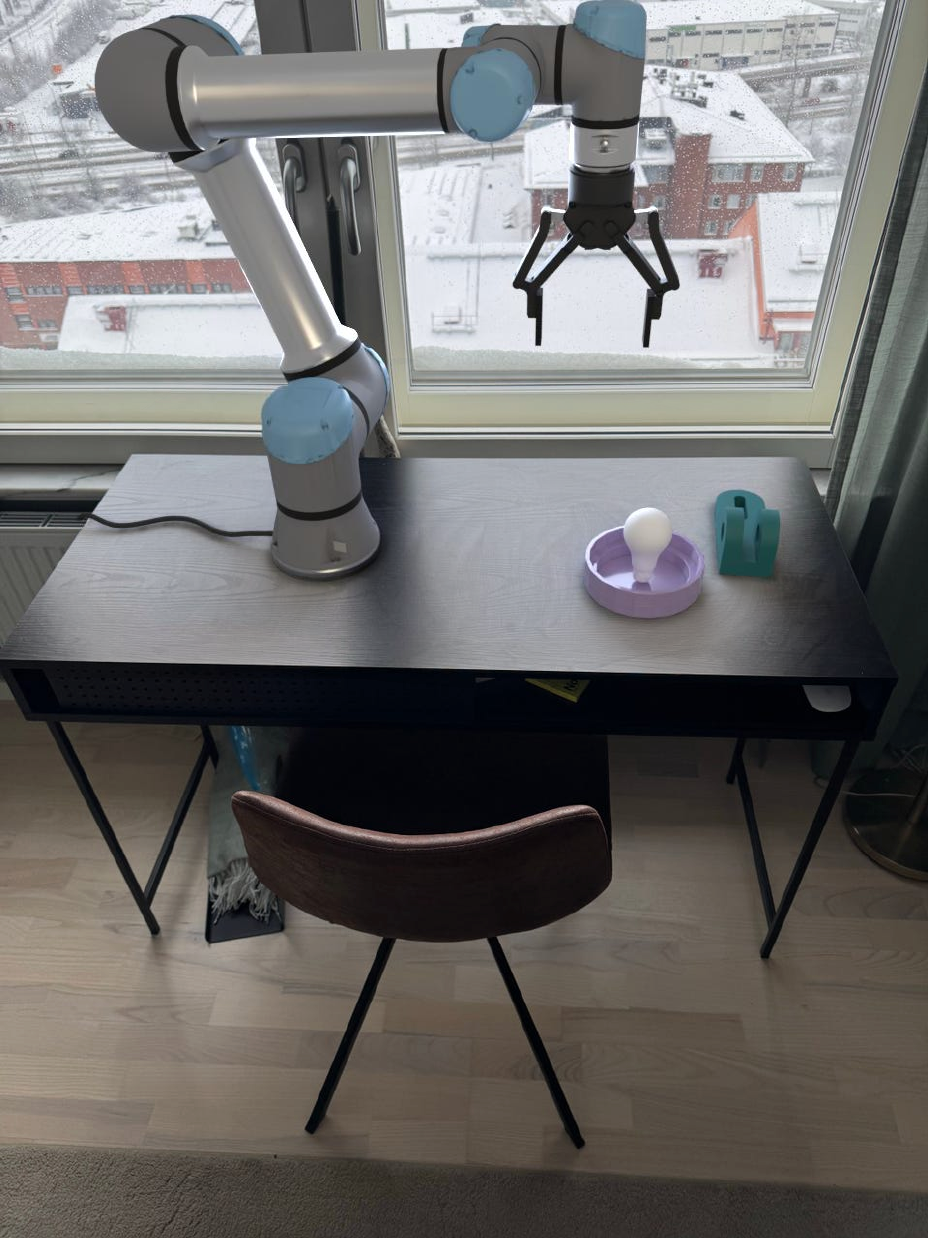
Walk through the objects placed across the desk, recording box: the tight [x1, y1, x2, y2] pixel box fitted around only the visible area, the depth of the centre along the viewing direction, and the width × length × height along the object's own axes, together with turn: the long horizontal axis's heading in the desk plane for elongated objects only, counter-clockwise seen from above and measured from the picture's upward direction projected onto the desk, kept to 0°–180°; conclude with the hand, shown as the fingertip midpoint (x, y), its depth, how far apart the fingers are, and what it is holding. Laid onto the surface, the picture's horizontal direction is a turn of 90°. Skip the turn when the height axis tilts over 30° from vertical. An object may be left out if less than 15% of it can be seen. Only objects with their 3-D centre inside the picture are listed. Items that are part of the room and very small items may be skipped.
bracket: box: [713, 489, 781, 579], centre depth 129 cm, size 18×7×8 cm, turn 171°
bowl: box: [583, 525, 706, 619], centre depth 122 cm, size 15×15×4 cm
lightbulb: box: [623, 507, 673, 583], centre depth 120 cm, size 6×6×11 cm
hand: (591, 342), depth 119 cm, fingers open, 13 cm apart
